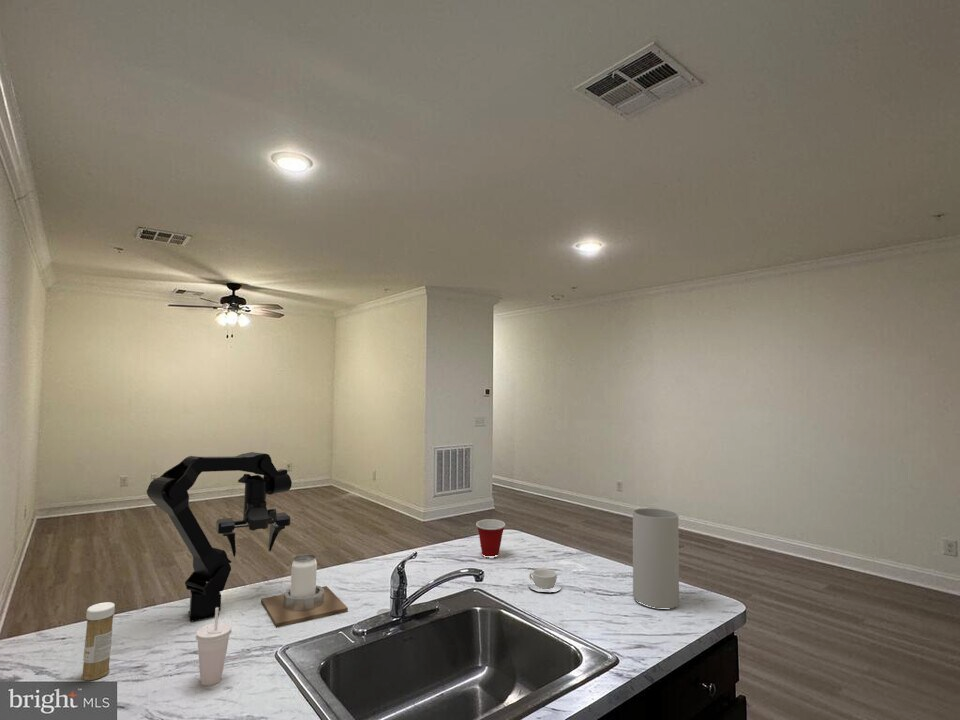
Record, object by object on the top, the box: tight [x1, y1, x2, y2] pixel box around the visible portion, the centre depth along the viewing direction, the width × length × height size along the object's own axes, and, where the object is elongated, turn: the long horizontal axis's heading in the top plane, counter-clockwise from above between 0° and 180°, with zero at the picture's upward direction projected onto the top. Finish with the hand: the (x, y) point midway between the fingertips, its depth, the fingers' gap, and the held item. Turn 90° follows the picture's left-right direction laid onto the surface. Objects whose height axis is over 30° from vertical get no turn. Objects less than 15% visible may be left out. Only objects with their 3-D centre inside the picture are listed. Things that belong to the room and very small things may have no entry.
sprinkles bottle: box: [81, 601, 116, 681], centre depth 101 cm, size 5×5×14 cm
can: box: [289, 553, 318, 597], centre depth 136 cm, size 6×6×12 cm
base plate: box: [260, 585, 349, 628], centre depth 135 cm, size 18×18×1 cm
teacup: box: [529, 568, 558, 589], centre depth 153 cm, size 10×10×5 cm
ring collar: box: [283, 584, 324, 611], centre depth 135 cm, size 10×10×3 cm
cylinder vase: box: [632, 507, 680, 609], centre depth 145 cm, size 12×12×25 cm
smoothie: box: [195, 607, 233, 686], centre depth 100 cm, size 6×6×14 cm
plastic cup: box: [475, 518, 506, 556], centre depth 183 cm, size 11×11×12 cm
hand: (252, 553), depth 142 cm, fingers open, 9 cm apart
